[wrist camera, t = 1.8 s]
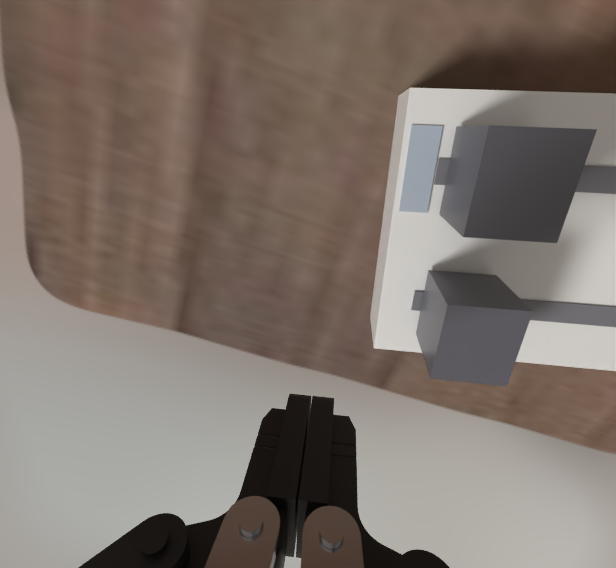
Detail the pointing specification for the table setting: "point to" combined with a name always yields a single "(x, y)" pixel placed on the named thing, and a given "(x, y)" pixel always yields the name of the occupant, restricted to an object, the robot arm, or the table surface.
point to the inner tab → (513, 180)
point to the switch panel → (494, 252)
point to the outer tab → (470, 327)
